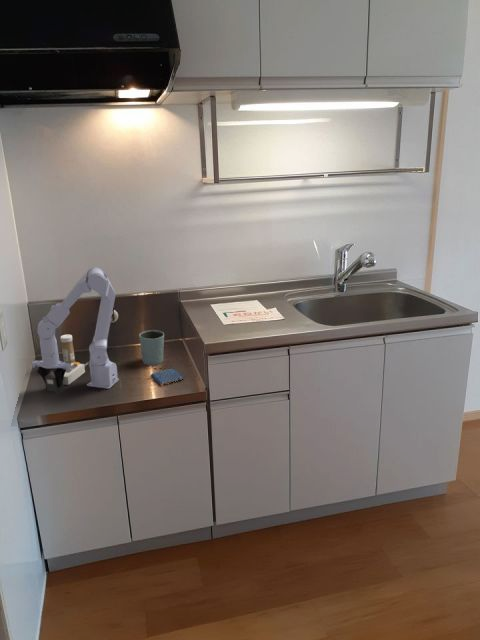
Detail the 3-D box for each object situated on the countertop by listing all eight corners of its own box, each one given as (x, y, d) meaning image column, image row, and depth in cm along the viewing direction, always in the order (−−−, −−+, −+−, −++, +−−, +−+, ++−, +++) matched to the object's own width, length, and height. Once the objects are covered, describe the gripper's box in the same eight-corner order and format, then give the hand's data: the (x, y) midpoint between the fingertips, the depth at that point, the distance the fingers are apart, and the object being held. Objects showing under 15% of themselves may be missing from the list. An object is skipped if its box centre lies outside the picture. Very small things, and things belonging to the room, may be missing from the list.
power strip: (94, 364, 212) (93, 355, 211) (68, 384, 195) (67, 375, 194) (82, 363, 214) (81, 354, 212) (55, 383, 197) (54, 373, 195)
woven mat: (185, 381, 199) (185, 376, 198) (160, 388, 193) (160, 383, 193) (174, 371, 207) (174, 366, 206) (149, 377, 202) (149, 373, 201)
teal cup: (138, 358, 218) (136, 332, 214) (161, 354, 222) (159, 328, 218) (144, 367, 209) (142, 340, 205) (168, 363, 213) (167, 336, 209)
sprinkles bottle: (77, 367, 210) (73, 336, 206) (66, 369, 208) (61, 339, 203) (73, 363, 214) (70, 333, 209) (62, 365, 212) (58, 335, 207)
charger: (66, 384, 195) (64, 370, 193) (56, 392, 189) (54, 378, 187) (57, 383, 196) (55, 369, 194) (46, 390, 190) (44, 376, 188)
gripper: (73, 349, 189) (77, 382, 194) (37, 346, 192) (42, 379, 196) (63, 356, 183) (68, 391, 187) (26, 353, 185) (32, 387, 190)
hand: (54, 385), depth 191 cm, fingers closed on charger, 4 cm apart
